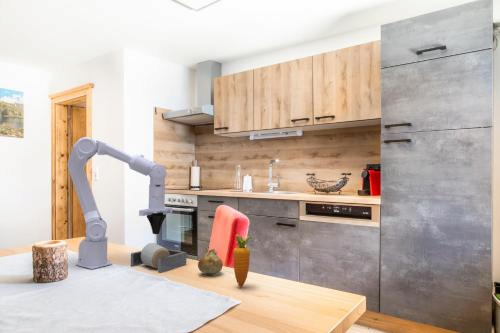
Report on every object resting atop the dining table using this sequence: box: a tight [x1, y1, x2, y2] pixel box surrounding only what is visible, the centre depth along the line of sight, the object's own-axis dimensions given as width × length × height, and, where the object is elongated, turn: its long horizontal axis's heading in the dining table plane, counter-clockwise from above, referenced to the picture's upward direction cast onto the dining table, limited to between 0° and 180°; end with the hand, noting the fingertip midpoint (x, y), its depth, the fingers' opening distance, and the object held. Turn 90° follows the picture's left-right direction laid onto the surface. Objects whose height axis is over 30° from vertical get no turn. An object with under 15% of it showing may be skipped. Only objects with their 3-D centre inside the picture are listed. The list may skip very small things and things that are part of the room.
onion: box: [197, 248, 224, 276], centre depth 108 cm, size 8×8×8 cm
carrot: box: [233, 234, 251, 288], centre depth 96 cm, size 5×5×15 cm
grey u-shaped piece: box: [130, 248, 188, 274], centre depth 117 cm, size 14×12×4 cm
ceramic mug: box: [141, 242, 170, 270], centre depth 116 cm, size 11×8×8 cm
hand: (155, 233), depth 123 cm, fingers closed
